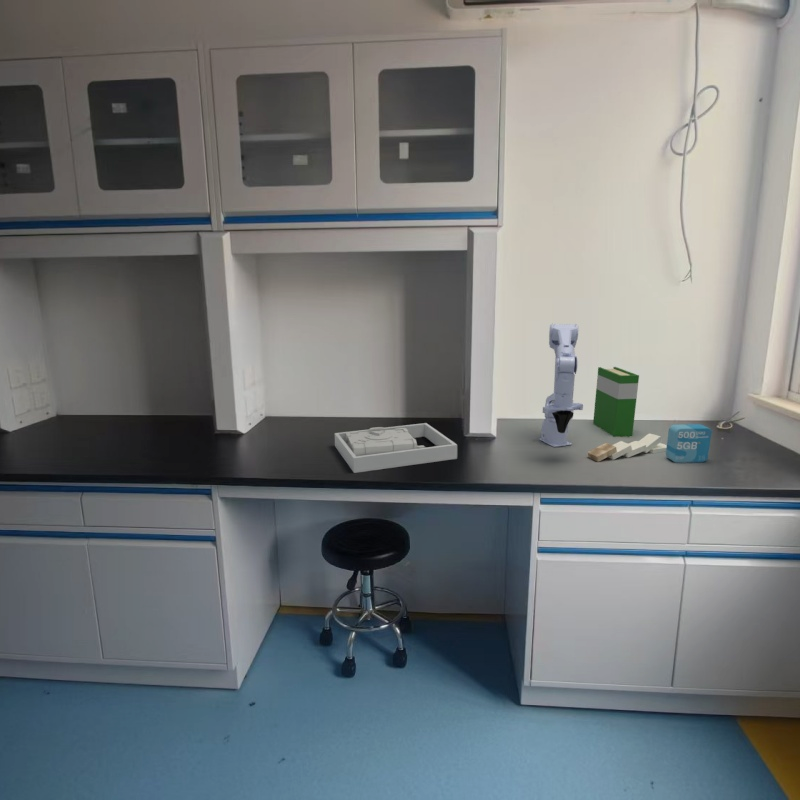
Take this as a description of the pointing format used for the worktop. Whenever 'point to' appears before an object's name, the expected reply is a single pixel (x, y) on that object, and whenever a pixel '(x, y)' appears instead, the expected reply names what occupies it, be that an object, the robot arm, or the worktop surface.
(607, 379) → the hardback book
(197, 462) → the worktop surface
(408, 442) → the grey case
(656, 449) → the domino
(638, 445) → the domino
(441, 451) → the tray
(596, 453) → the domino
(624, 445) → the domino
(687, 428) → the data package
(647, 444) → the domino
